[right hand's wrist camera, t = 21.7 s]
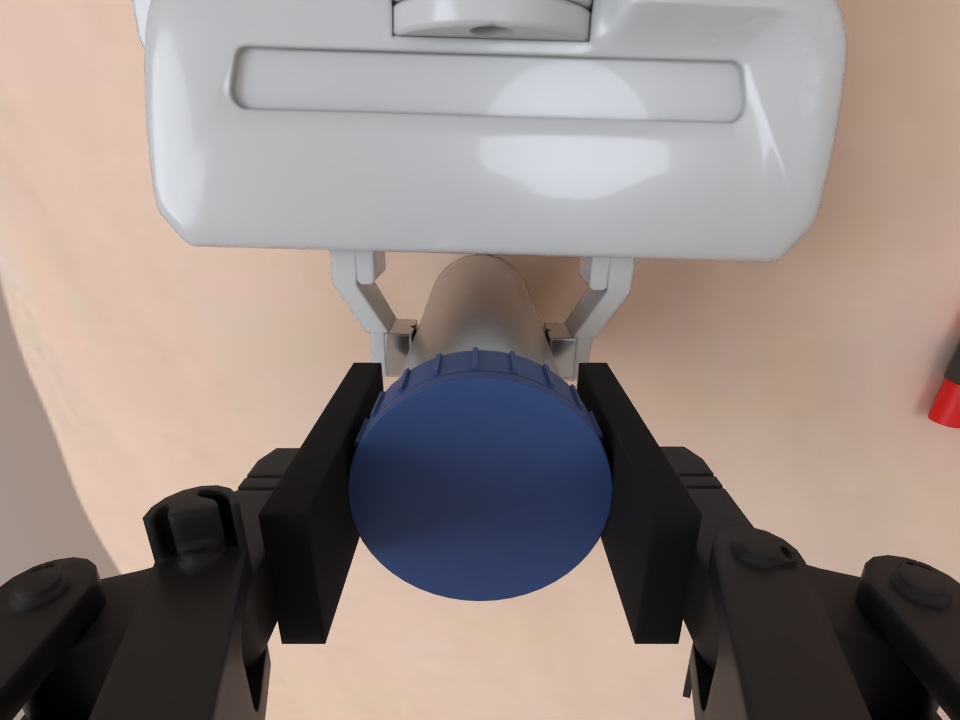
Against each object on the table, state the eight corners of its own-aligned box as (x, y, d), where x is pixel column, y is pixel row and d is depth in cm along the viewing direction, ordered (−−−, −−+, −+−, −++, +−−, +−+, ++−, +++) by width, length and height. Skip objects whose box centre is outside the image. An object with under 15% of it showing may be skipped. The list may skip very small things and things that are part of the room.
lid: (539, 580, 13) (546, 632, 12) (330, 511, 13) (310, 558, 11) (643, 400, 12) (667, 436, 10) (407, 307, 11) (395, 330, 9)
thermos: (535, 259, 24) (608, 384, 11) (523, 354, 26) (572, 570, 12) (433, 250, 24) (371, 365, 10) (428, 346, 26) (368, 556, 12)
